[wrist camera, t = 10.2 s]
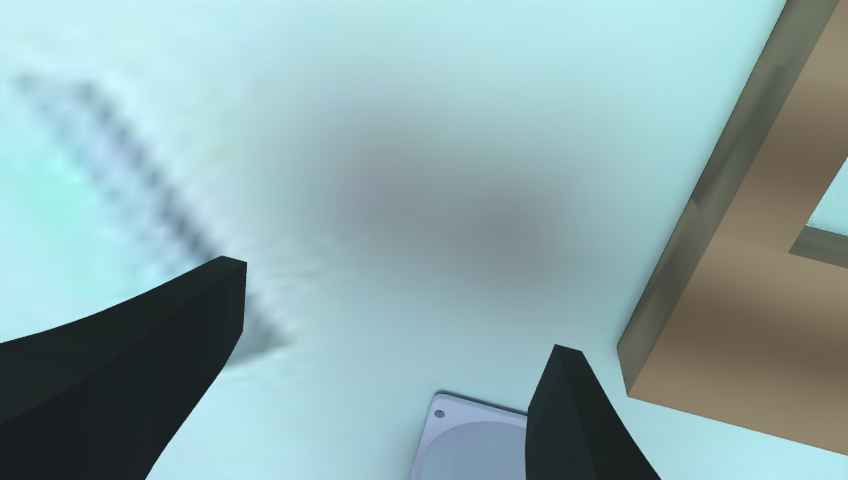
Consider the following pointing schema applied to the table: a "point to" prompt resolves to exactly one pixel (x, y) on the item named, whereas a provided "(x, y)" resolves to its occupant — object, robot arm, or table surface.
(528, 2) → the table surface
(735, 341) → the wooden board with hole
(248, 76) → the table surface
